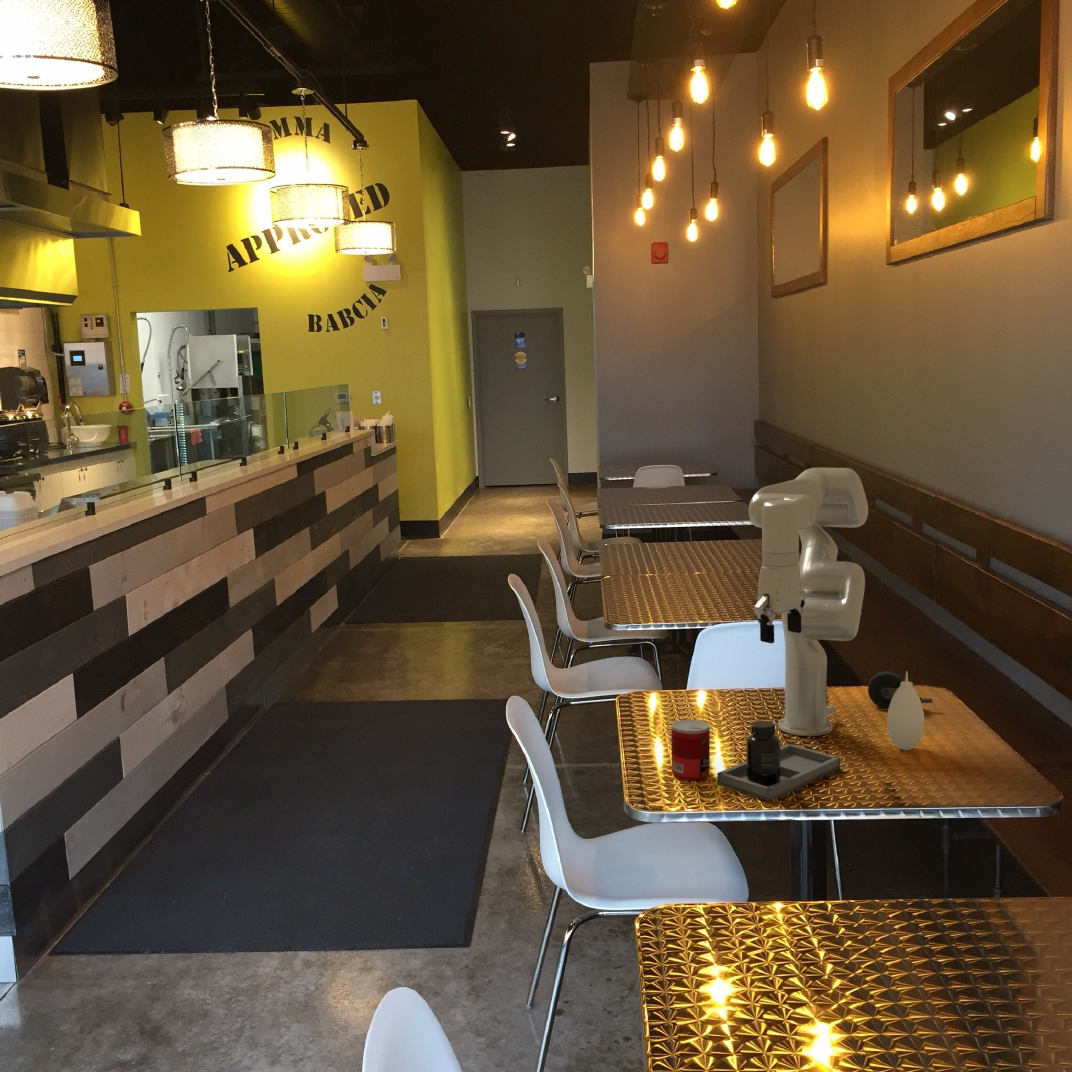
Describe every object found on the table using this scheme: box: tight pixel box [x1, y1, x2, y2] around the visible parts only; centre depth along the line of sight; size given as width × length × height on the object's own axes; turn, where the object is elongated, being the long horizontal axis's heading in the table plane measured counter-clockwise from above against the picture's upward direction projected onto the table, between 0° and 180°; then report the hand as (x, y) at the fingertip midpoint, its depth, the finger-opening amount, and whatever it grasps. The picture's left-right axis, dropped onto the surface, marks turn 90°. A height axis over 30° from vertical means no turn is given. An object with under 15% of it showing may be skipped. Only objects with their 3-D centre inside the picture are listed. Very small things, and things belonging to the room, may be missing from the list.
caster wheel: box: [867, 670, 933, 709], centre depth 265 cm, size 6×10×15 cm
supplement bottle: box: [745, 720, 781, 786], centre depth 218 cm, size 7×7×12 cm
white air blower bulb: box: [886, 670, 925, 751], centre depth 235 cm, size 8×8×18 cm
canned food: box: [670, 719, 711, 782], centre depth 224 cm, size 8×8×11 cm
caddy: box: [716, 743, 841, 802], centre depth 222 cm, size 25×13×2 cm, turn 132°
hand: (781, 636), depth 227 cm, fingers open, 9 cm apart
